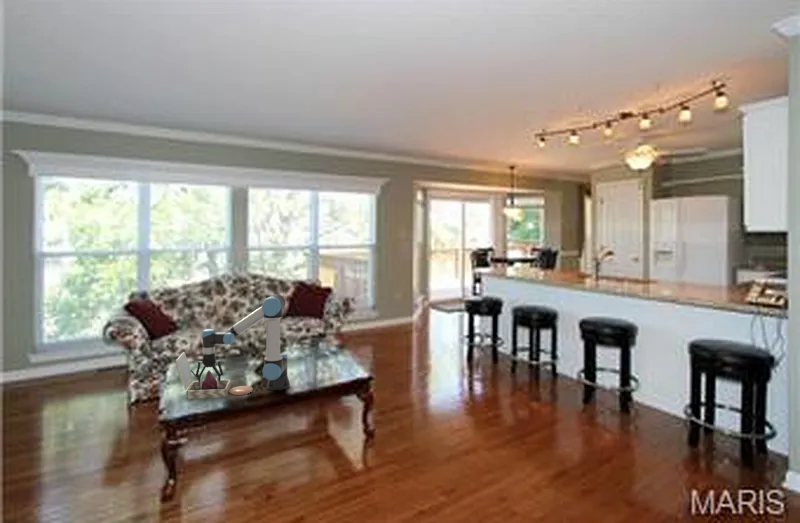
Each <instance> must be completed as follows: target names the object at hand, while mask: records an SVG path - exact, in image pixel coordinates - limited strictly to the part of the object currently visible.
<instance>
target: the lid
mask: <svg viewBox="0 0 800 523" xmlns="http://www.w3.org/2000/svg"><path fill="white" fill-rule="evenodd" d="M175 362H176V366H177V369H178V372H179V375H180V379H181V382H182V385H183V388H184V391H187V389H188V388H189V387H190V385H191V384H192V382H193V381H194V378H193V374H192V372H191V371H190V370H191V369H190V365H189V363H188V362H189V361H188V358H187V356H186V352H185V351H183V352H181V354H180V355H179V356H178V357H177V358H176V359H175Z"/></svg>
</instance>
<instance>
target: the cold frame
mask: <svg viewBox="0 0 800 523" xmlns="http://www.w3.org/2000/svg"><path fill="white" fill-rule="evenodd" d="M190 371H191V374H192V376H194V378H196V379H197V380H193V381H192V382H191V384H190V385H189V387H188V388H187V390H185V391H186V392H185V394H186V396H185V397H186V399H188V400H191V399H193V400H194V399H208V398H209V399H213V398H214V399H215V398H227V396H228V394H229V390H230V389H231V388H232V385H231V384H232V383H231V379H221V380H220V381H219V386H218V389H213V390H202V388H200V382H199V380H198V377H196V376H195V375H196V372H194V371H193V370H192V369H190ZM216 381H217V379H216ZM203 382H204V380H202V384H203Z"/></svg>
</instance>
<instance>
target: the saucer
mask: <svg viewBox="0 0 800 523" xmlns="http://www.w3.org/2000/svg"><path fill="white" fill-rule="evenodd" d="M253 391H254V388H253V387H252V386H248V385H239V386H235V387H230V389H229V392H228V394H230V395H232V396H245V395H248V393H249V394H251V393H252V392H253ZM250 392H251V393H250ZM244 394H245V395H244Z"/></svg>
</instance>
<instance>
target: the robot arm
mask: <svg viewBox="0 0 800 523" xmlns="http://www.w3.org/2000/svg"><path fill="white" fill-rule="evenodd" d="M261 304H262V305H261V306H260V307H259V308H257V309H255V310H254V311H253V312H251V313H250V314H248V315H247V316H245V317H244V318H242V319H241V320H239V321H238V322H237V323H235V324H233V325H232V326H230V327H229V328H228V329H226V330H224V331H222V332H215V329H213V328H206V329H204V330H202V353H203V354H202V361H201V360H199V361H198V362H197V368H196V371H195V374H196V375H195V376H196V377H198V379H197V381H199V382H200V388H202V381H203V376H202V375H203V373H204V371H205V369H206V368H212V369H213V370H214V372H215V374H216V375H217V376H216V380H217V387H218V386H219V381H220V380H222V379H221V377H222V376H224V370H223V368H222V365H221V360H220V359H219V360H216V345H226V346H227V345H232V344H234V341H235V339H236V338H237V337H238V336H241V334H243V333H244V332H246V331H247V330H249V329H250V328H252V327H253V326H255V325H256V324H258V323H259V322H261V321H262V320H265V324H266V325H265V326H266V333H265V335H266V336H265V337H266V342H265V343H266V344H265V345H266V356H265V357H264V359H263V363H264V364H263V368H262V371H261V372H262V375H263V377H264V378H265V379H266V380H268V381H267V384H266V388H267V389H268V390H269V389H271V390H270V391H274V390H279V391H284V390H283V389H285V390H288V389H289V388H290V387H291V382H290V379H289V377H288V360H289V359H288V355H287V354H285V353H281V319H282V318H283V309H284V308H285V306H286V300H285V298H284V296H282V295H280V294H277V293H275V294H272V295H271V296H268V297H267V298H265V299H264V300H263V302H262V303H261ZM202 364H203V367H202V369H201V365H202ZM215 364H217V366H218V368H217V367H216V365H215ZM200 370H201V371H200ZM195 376H194V377H195ZM196 377H195V378H196ZM288 387H289V388H288ZM287 388H288V389H287Z"/></svg>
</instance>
